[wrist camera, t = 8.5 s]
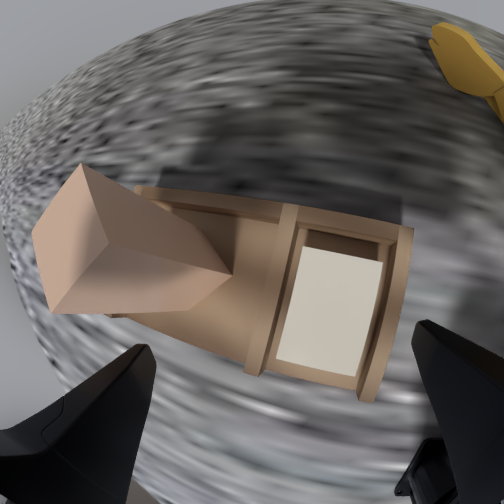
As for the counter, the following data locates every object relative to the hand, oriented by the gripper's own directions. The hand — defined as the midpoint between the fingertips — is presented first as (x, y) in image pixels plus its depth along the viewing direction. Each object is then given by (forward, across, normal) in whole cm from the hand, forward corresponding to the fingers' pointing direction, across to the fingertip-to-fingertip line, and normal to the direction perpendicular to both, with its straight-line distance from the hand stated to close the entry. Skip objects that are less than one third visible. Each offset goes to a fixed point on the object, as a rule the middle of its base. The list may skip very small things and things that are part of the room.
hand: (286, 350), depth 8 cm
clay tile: (+8, -3, +4) cm, 10 cm away
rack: (+11, +2, +4) cm, 12 cm away
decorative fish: (+14, -25, -9) cm, 30 cm away
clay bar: (+12, +6, +2) cm, 13 cm away
